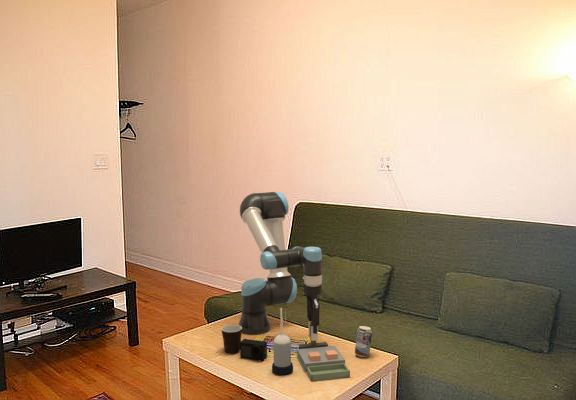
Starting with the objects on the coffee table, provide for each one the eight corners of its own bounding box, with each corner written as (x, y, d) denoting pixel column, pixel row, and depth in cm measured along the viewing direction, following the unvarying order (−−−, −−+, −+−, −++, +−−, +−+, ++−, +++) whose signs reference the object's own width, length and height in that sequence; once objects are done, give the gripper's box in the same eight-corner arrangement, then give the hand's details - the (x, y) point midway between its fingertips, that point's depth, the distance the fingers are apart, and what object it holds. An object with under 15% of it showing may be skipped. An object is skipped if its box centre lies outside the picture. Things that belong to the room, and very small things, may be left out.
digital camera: (238, 359, 208) (238, 343, 208) (244, 354, 214) (243, 338, 213) (262, 363, 205) (261, 346, 204) (267, 357, 210) (266, 341, 209)
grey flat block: (297, 357, 209) (297, 349, 209) (334, 353, 212) (334, 345, 212) (305, 372, 196) (305, 363, 195) (345, 368, 199) (345, 359, 198)
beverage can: (351, 356, 210) (351, 328, 209) (362, 350, 216) (362, 323, 214) (364, 360, 206) (364, 331, 205) (374, 354, 211) (374, 326, 210)
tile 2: (325, 355, 203) (325, 350, 202) (334, 354, 203) (334, 349, 203) (328, 359, 199) (328, 354, 198) (337, 358, 199) (337, 353, 199)
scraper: (298, 351, 216) (298, 321, 215) (326, 348, 218) (325, 319, 217) (300, 354, 213) (300, 324, 212) (328, 351, 216) (327, 321, 214)
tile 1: (308, 357, 201) (308, 352, 201) (317, 356, 202) (317, 351, 202) (310, 361, 197) (310, 356, 197) (320, 360, 198) (320, 355, 198)
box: (306, 372, 195) (306, 366, 195) (344, 369, 198) (344, 362, 198) (311, 381, 189) (311, 374, 188) (350, 377, 191) (349, 370, 191)
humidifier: (275, 365, 202) (274, 304, 199) (295, 368, 200) (295, 306, 197) (268, 374, 195) (267, 311, 192) (289, 377, 192) (288, 313, 189)
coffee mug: (239, 356, 212) (238, 332, 211) (219, 354, 213) (218, 331, 212) (246, 345, 223) (246, 323, 222) (228, 343, 225) (227, 321, 224)
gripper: (299, 279, 220) (300, 331, 223) (308, 290, 204) (309, 346, 206) (316, 278, 221) (316, 330, 224) (327, 289, 205) (327, 345, 208)
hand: (313, 338), depth 215 cm, fingers open, 4 cm apart
